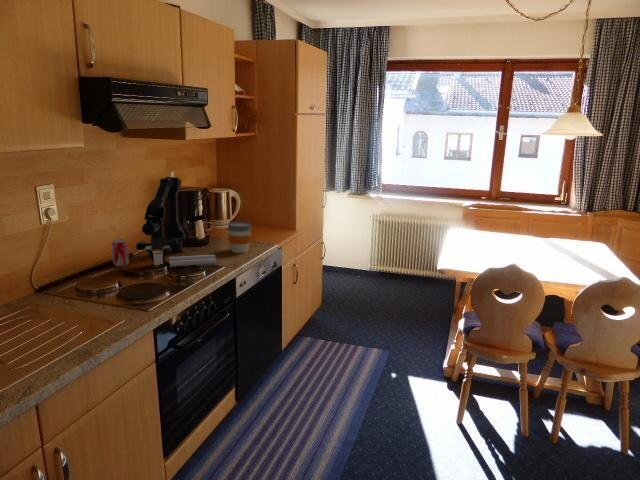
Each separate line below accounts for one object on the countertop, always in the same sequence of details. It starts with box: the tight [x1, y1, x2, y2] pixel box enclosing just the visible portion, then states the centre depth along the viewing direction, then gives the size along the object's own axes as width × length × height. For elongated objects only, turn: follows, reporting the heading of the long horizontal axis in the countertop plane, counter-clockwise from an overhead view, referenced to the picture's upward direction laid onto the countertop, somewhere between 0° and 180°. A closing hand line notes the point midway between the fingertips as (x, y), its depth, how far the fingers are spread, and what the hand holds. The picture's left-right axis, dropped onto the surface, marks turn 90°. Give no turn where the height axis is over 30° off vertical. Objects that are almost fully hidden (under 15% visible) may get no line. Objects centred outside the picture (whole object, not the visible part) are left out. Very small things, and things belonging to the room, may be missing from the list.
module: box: [153, 250, 164, 266], centre depth 226 cm, size 5×4×6 cm
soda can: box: [111, 238, 129, 267], centre depth 223 cm, size 7×7×12 cm
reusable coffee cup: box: [227, 221, 252, 254], centre depth 255 cm, size 13×13×15 cm
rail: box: [168, 254, 218, 269], centre depth 230 cm, size 10×22×3 cm, turn 108°
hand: (158, 262), depth 226 cm, fingers closed on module, 4 cm apart
